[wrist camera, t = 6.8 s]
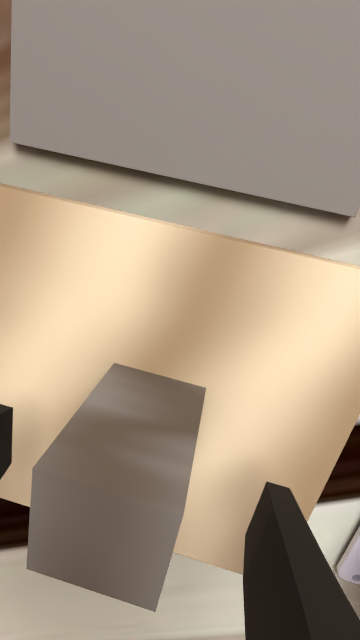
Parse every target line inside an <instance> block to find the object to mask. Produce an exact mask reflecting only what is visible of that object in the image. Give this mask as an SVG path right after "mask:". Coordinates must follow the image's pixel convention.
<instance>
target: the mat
mask: <svg viewBox="0 0 360 640" xmlns="http://www.w3.org/2000/svg"><path fill="white" fill-rule="evenodd" d="M10 142H12V143H16V144H20V145H25V146H29V147H34V148H38V149H43V150H48V151H52V152H57V153H61V154H66V155H70V156H75V157H80V158H84V159H89V160H93V161H98V162H103V163H107V164H112V165H116V166H121V167H126V168H130V169H135V170H139V171H144V172H148V173H153V174H158V175H162V176H167V177H171V178H176V179H181V180H185V181H190V182H194V183H199V184H204V185H208V186H213V187H217V188H222V189H226V190H231V191H236V192H240V193H245V194H249V195H254V196H259V197H263V198H268V199H272V200H277V201H282V202H286V203H291V204H295V205H300V206H304V207H309V208H314V209H318V210H323V211H327V212H332V213H337V214H341V215H346V216H350V217H356V214H357V211H358V209H359V206H360V0H12V33H11V95H10Z"/></svg>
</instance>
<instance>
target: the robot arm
mask: <svg viewBox="0 0 360 640" xmlns="http://www.w3.org/2000/svg"><path fill="white" fill-rule="evenodd" d="M12 430H13V407H9V406H6V405H2V404H0V480H1V478H2V477H3V475H4V474H5V472H6V471H7V469H8V468H9V466H10V465H11V463H12ZM337 572H338V575H339V577H340V578H341V579H343V580H345V581H349V582H352V583H355V584H358V585H360V526H359V528H358V530H357V532H356V533H355V535H354V537H353V539H352V540H351V542H350V544H349V546H348V547H347V549H346V551H345V553H344V554H343V556H342V558H341V560H340V561H339V563H338V565H337ZM243 593H244V615H245V636H246V640H360V620H359V618H358V616H357V615H356V613H355V611H354V609H353V608H352V606H351V604H350V602H349V601H348V599H347V597H346V595H345V594H344V592H343V590H342V588H341V586H340V585H339V583H338V581H337V579H336V577H335V575H334V573H333V572H332V570H331V568H330V566H329V564H328V562H327V561H326V559H325V557H324V555H323V553H322V551H321V549H320V547H319V545H318V543H317V541H316V539H315V537H314V535H313V533H312V531H311V530H310V528H309V526H308V524H307V522H306V519H305V517H304V515H303V513H302V511H301V509H300V507H299V505H298V503H297V501H296V499H295V497H294V495H293V493H292V491H291V490H290V488H288V487H284V486H281V485H277V484H274V483H271V482H267V481H266V484H265V486H264V489H263V491H262V494H261V496H260V499H259V501H258V504H257V506H256V509H255V511H254V514H253V516H252V519H251V521H250V524H249V526H248V529H247V532H246V534H245V547H244V566H243Z"/></svg>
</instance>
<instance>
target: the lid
mask: <svg viewBox="0 0 360 640" xmlns="http://www.w3.org/2000/svg"><path fill="white" fill-rule="evenodd" d="M0 404H2V405H6V406H9V407H13V430H12V463H11V465H10V466H9V468H8V469H7V471H6V472H5V474H4V475H3V477H2V478H1V480H0V498H3V499H6V500H9V501H13V502H16V503H19V504H22V505H25V506H28V507H30V519H29V537H28V554H27V569H29V570H32V571H35V572H38V573H41V574H44V575H47V576H50V577H53V578H56V579H59V580H62V581H65V582H68V583H71V584H73V585H76V586H79V587H82V588H85V589H88V590H91V591H94V592H97V593H100V594H103V595H106V596H109V597H112V598H115V599H118V600H121V601H124V602H127V603H130V604H133V605H136V606H139V607H142V608H145V609H148V610H151V611H154V612H155V611H156V607H157V604H158V600H159V597H160V593H161V590H162V587H163V583H164V580H165V576H166V573H167V570H168V566H169V563H170V559H171V556H172V553H176V554H179V555H183V556H186V557H189V558H192V559H195V560H198V561H202V562H205V563H208V564H211V565H214V566H217V567H220V568H224V569H227V570H230V571H233V572H236V573H239V574H242V575H243V566H244V547H245V534H246V532H247V529H248V526H249V524H250V521H251V519H252V516H253V514H254V511H255V509H256V506H257V504H258V501H259V499H260V496H261V494H262V491H263V489H264V486H265V484H266V481H267V482H271V483H274V484H277V485H281V486H284V487H288V488H290V490H291V491H292V493H293V495H294V497H295V499H296V501H297V503H298V505H299V507H300V509H301V511H302V513H303V515H304V517H305V519H306V522H307V521H308V519H309V517H310V515H311V513H312V511H313V509H314V507H315V505H316V503H317V501H318V499H319V496H320V494H321V492H322V490H323V488H324V486H325V484H326V482H327V480H328V478H329V476H330V474H331V472H332V470H333V468H334V466H335V464H336V462H337V460H338V458H339V455H340V453H341V451H342V449H343V447H344V445H345V443H346V441H347V439H348V437H349V435H350V433H351V431H352V429H353V427H354V425H355V423H356V421H357V419H358V417H359V414H360V266H356V265H352V264H347V263H343V262H339V261H334V260H330V259H326V258H321V257H317V256H313V255H308V254H304V253H300V252H295V251H291V250H287V249H282V248H278V247H274V246H269V245H265V244H261V243H256V242H252V241H248V240H244V239H239V238H235V237H231V236H226V235H222V234H218V233H213V232H209V231H205V230H200V229H196V228H192V227H187V226H183V225H179V224H174V223H170V222H166V221H161V220H157V219H153V218H148V217H144V216H140V215H135V214H131V213H127V212H122V211H118V210H114V209H109V208H105V207H101V206H96V205H92V204H88V203H83V202H79V201H75V200H70V199H66V198H62V197H57V196H53V195H49V194H44V193H40V192H36V191H31V190H27V189H23V188H18V187H14V186H10V185H6V184H0Z"/></svg>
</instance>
